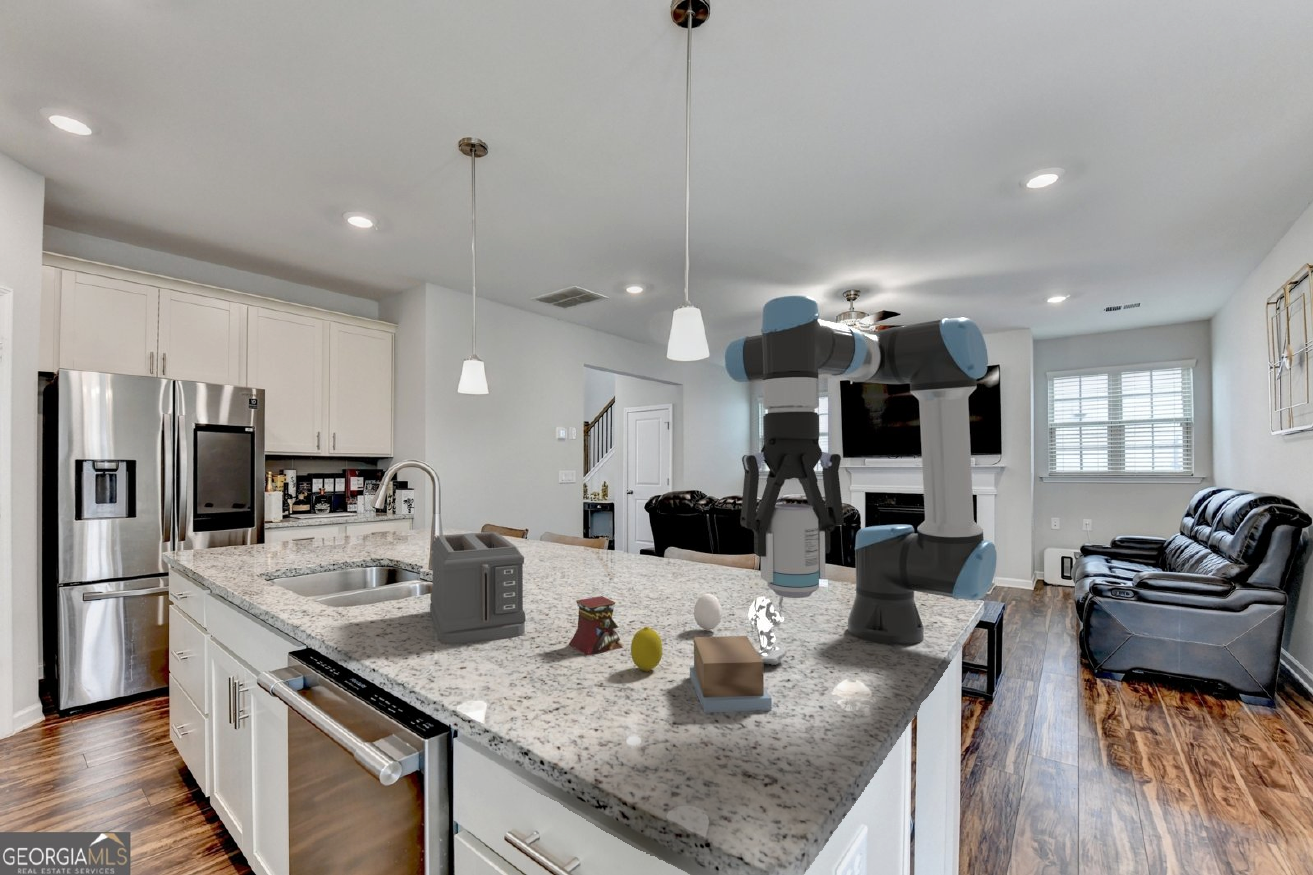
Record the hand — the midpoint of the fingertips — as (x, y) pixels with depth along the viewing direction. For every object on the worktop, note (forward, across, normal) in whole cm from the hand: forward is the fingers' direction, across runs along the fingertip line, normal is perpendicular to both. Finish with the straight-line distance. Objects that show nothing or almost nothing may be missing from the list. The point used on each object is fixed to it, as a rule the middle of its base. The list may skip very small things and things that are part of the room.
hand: (792, 578), depth 81 cm
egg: (+22, -1, -47) cm, 52 cm away
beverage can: (+2, 0, 0) cm, 2 cm away
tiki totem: (+22, +24, -41) cm, 52 cm away
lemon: (+22, +16, -26) cm, 37 cm away
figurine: (+22, -6, -26) cm, 35 cm away
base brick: (+22, +5, -14) cm, 27 cm away
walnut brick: (+19, +5, -14) cm, 24 cm away
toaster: (+22, +49, -61) cm, 81 cm away
